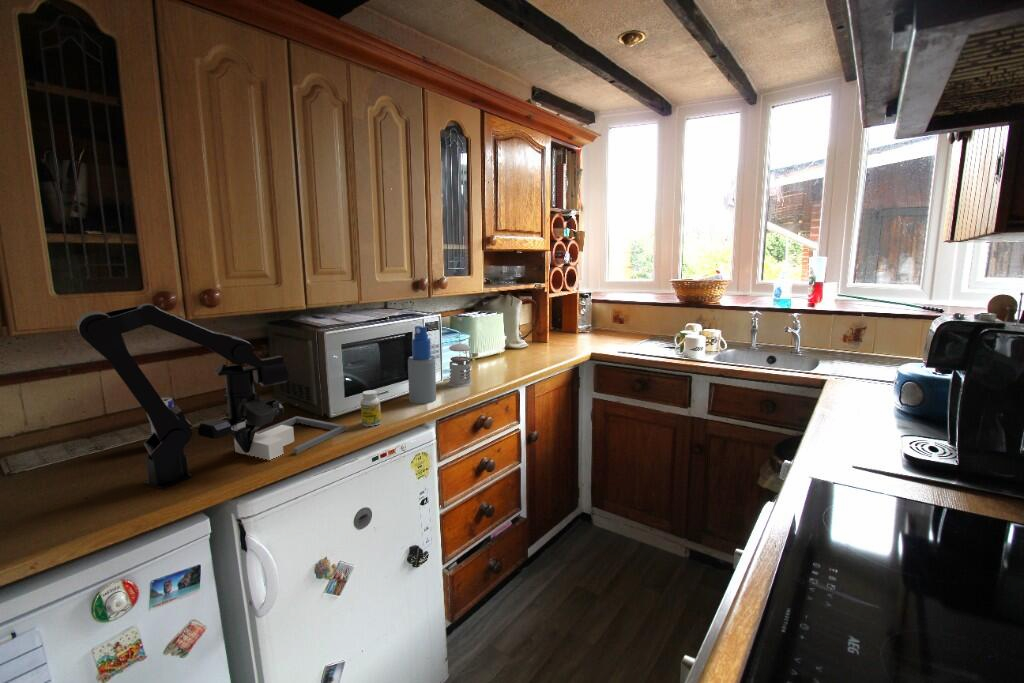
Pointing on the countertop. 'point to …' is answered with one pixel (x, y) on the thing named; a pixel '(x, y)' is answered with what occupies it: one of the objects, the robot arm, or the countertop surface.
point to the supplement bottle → (370, 408)
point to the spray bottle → (421, 369)
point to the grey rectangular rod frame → (316, 423)
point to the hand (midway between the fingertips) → (246, 452)
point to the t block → (269, 442)
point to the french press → (460, 366)
